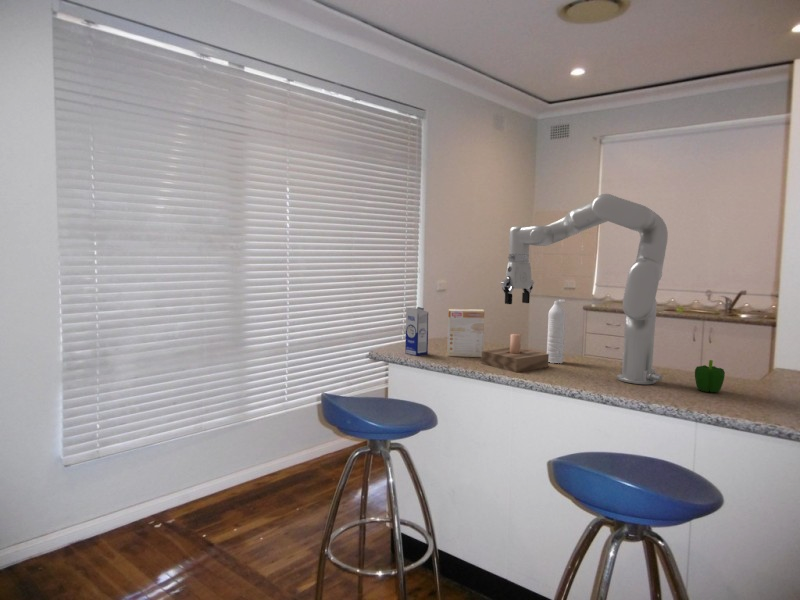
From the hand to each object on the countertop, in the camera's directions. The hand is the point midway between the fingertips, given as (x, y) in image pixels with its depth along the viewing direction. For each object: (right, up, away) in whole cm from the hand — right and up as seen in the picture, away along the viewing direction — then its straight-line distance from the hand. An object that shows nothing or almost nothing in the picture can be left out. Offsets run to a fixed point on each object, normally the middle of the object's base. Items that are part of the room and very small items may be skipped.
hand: (517, 303), depth 208 cm
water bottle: (+18, -24, +11) cm, 32 cm away
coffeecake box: (-18, -22, +21) cm, 35 cm away
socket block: (-1, -24, +2) cm, 24 cm away
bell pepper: (+55, -29, -33) cm, 70 cm away
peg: (-1, -24, +2) cm, 24 cm away
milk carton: (-38, -22, +22) cm, 49 cm away
